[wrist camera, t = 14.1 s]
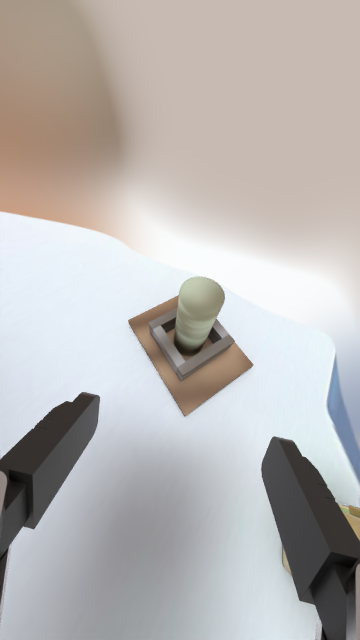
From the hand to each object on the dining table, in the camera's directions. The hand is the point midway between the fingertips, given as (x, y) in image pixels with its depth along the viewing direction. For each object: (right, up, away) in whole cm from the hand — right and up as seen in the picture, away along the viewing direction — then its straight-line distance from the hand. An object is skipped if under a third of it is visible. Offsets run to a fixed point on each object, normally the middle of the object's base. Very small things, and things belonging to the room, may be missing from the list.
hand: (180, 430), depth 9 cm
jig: (+1, +1, +21) cm, 21 cm away
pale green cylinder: (+1, +2, +20) cm, 20 cm away
